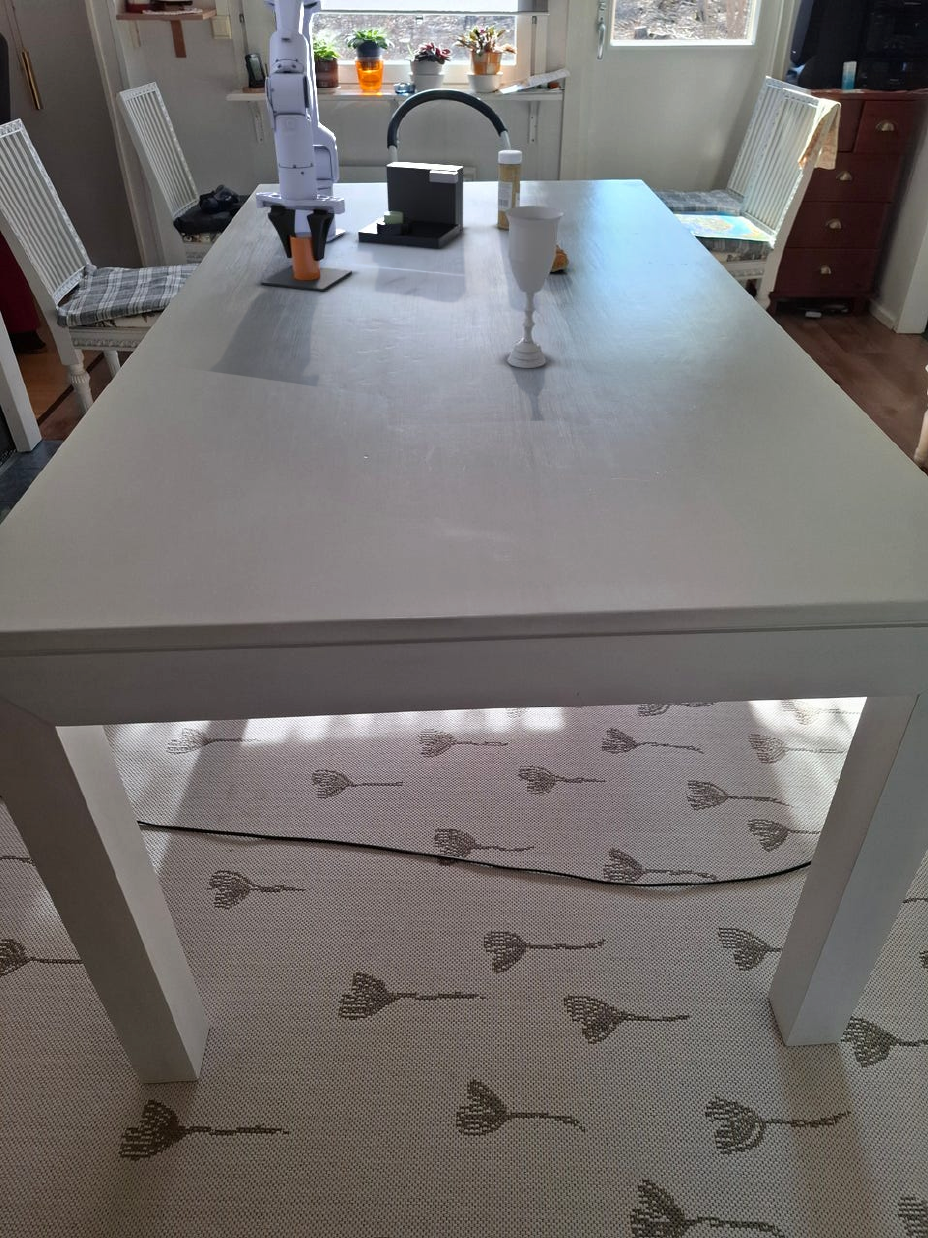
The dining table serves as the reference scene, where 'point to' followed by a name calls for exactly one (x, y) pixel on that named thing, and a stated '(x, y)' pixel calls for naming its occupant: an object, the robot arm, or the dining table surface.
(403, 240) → the coffee maker base
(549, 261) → the chalice
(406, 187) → the coffee maker column
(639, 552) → the dining table surface
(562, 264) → the pastry
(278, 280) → the mat
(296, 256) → the espresso cup
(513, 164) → the sprinkles bottle
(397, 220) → the button
